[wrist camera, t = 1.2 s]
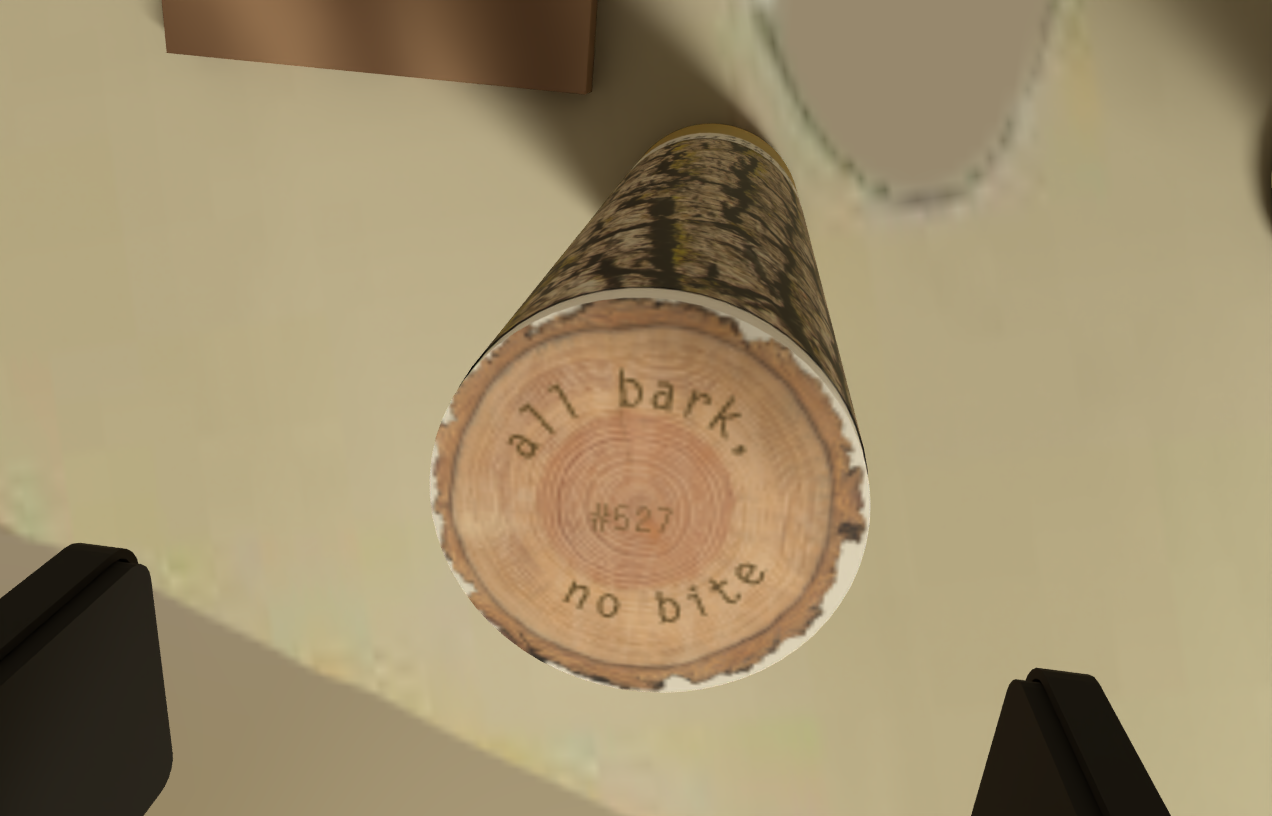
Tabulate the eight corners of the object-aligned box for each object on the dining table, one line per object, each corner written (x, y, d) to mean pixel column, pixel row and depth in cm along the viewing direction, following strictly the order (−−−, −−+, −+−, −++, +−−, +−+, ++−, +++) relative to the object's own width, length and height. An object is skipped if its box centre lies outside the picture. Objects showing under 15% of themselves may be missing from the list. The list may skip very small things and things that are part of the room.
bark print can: (625, 118, 37) (412, 284, 14) (805, 123, 36) (897, 307, 13) (623, 291, 39) (441, 675, 16) (791, 298, 39) (848, 710, 16)
